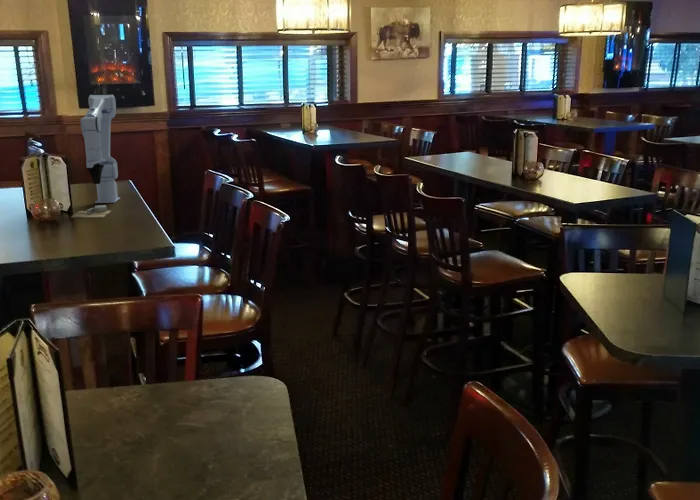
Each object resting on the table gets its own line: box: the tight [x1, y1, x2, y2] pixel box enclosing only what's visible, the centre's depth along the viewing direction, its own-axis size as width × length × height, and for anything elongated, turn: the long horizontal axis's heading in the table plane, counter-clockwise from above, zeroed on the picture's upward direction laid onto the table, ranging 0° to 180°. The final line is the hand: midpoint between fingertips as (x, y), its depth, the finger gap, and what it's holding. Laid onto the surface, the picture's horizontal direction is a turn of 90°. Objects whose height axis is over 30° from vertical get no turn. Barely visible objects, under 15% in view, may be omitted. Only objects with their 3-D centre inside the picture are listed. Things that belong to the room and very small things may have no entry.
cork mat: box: [70, 209, 113, 219], centre depth 258 cm, size 11×12×1 cm
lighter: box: [85, 204, 108, 215], centre depth 261 cm, size 7×2×8 cm
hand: (97, 183), depth 266 cm, fingers closed
